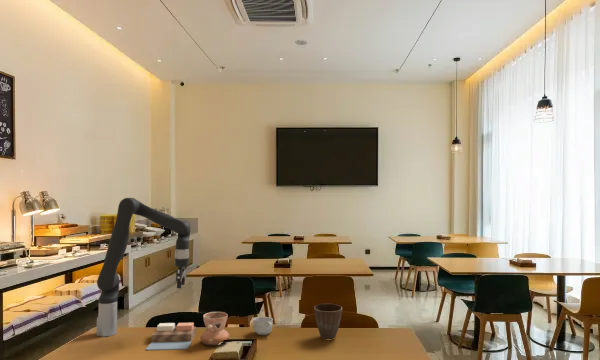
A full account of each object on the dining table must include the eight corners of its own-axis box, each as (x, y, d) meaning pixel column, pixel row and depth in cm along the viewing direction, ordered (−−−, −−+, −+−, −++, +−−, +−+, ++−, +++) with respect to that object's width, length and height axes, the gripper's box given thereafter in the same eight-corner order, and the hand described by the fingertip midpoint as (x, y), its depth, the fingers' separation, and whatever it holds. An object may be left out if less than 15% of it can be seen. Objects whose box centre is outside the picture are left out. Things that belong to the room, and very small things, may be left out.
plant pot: (347, 340, 210) (347, 309, 210) (321, 344, 204) (321, 312, 205) (334, 331, 223) (334, 302, 224) (309, 335, 218) (309, 305, 219)
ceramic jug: (222, 349, 197) (223, 320, 198) (194, 347, 199) (195, 318, 200) (234, 337, 215) (235, 310, 216) (208, 336, 217) (209, 309, 218)
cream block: (157, 331, 212) (157, 326, 212) (159, 327, 217) (159, 323, 217) (172, 330, 213) (172, 325, 213) (174, 327, 218) (174, 322, 218)
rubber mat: (145, 350, 196) (145, 349, 196) (151, 343, 206) (151, 342, 206) (187, 349, 198) (187, 348, 198) (191, 342, 207) (191, 341, 207)
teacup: (250, 331, 223) (250, 317, 224) (268, 329, 228) (269, 314, 228) (258, 339, 211) (258, 324, 211) (278, 336, 215) (278, 321, 216)
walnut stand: (151, 343, 206) (151, 335, 206) (158, 334, 218) (158, 327, 218) (191, 342, 208) (191, 334, 208) (195, 334, 219) (195, 326, 220)
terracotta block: (176, 330, 213) (176, 325, 213) (178, 327, 218) (178, 322, 218) (191, 330, 214) (191, 325, 214) (193, 327, 219) (193, 322, 219)
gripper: (178, 255, 232) (177, 283, 231) (171, 259, 218) (170, 289, 217) (191, 255, 232) (190, 283, 232) (186, 259, 218) (184, 289, 217)
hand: (180, 286), depth 224 cm, fingers open, 8 cm apart
